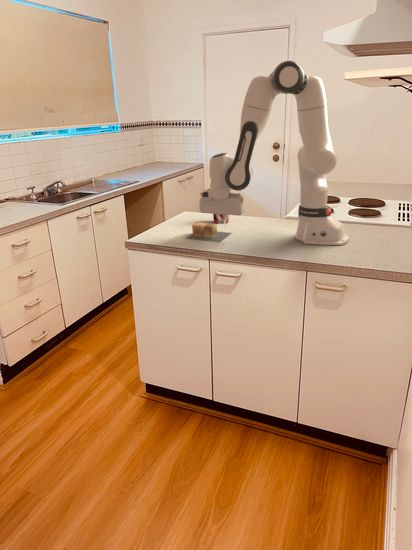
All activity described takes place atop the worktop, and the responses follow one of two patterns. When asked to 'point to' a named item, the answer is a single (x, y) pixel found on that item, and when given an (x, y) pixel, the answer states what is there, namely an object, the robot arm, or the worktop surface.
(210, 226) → the oak block
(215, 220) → the canned food
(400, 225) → the worktop surface
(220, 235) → the slate mat
